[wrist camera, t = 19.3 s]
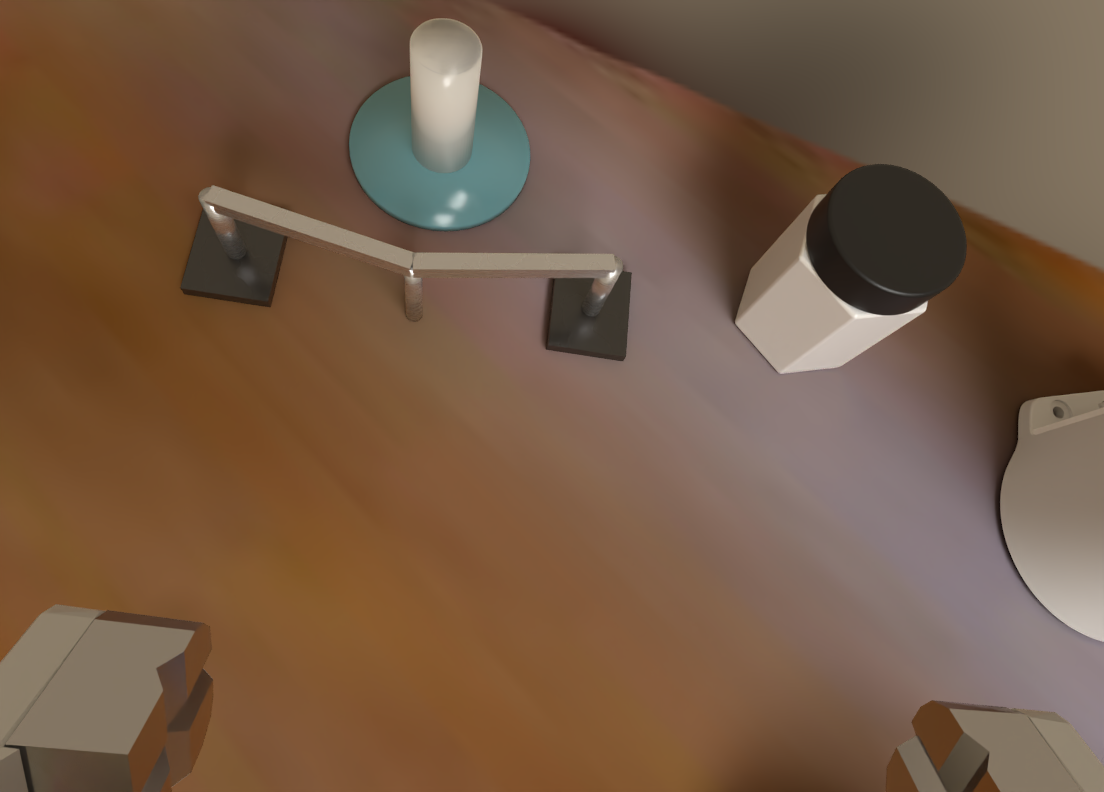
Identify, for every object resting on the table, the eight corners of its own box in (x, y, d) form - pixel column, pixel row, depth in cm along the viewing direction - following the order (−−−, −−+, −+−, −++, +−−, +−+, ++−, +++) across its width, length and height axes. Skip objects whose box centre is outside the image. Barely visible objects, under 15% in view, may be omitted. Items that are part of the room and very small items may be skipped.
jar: (876, 334, 51) (1003, 250, 40) (799, 401, 49) (912, 331, 38) (789, 240, 53) (888, 132, 41) (709, 300, 50) (793, 202, 39)
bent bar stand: (628, 278, 50) (659, 223, 43) (622, 361, 48) (654, 317, 41) (209, 207, 46) (173, 136, 40) (184, 293, 44) (143, 234, 38)
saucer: (496, 66, 53) (497, 60, 53) (553, 209, 50) (554, 204, 50) (328, 95, 50) (327, 89, 50) (378, 249, 47) (378, 244, 47)
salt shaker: (461, 117, 51) (469, 13, 42) (480, 166, 50) (491, 70, 41) (404, 128, 50) (400, 24, 41) (422, 178, 49) (422, 82, 40)
